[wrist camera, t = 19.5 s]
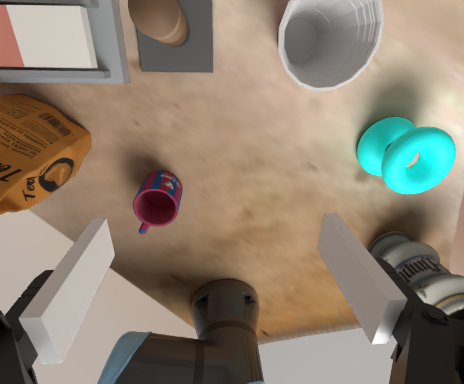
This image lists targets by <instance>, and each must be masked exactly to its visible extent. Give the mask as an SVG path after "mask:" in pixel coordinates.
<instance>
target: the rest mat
mask: <svg viewBox="0 0 464 384" xmlns="http://www.w3.org/2000/svg"><path fill="white" fill-rule="evenodd" d="M177 2H178V4H179V6H180V8H181V10H182V12H183V14H184V16H185V18H186V20H187V22H188V24H189V28H190V35H189V38H188V40H187V42H186V43H185V44H184V45H183V46H180V47H172V46H169V45H167V44H165V43H163V42H160V41H158V40H156V39H154V38H152V37H150V36H147V35H145V34H144V33H142V32H141V31H140V30H139V29H138V28H137V27H136V28H137V36H138V44H139V52H140V60H141V68H142V71H148V72H212V73H213V29H212V0H177Z"/></svg>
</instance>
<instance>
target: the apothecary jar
mask: <svg viewBox="0 0 464 384" xmlns="http://www.w3.org/2000/svg"><path fill="white" fill-rule="evenodd" d="M368 252H369V253H370V254H371V255H372V257H373V258H374V257H381V258H382V259H384V260H385V261H387V262H388V263H390V264H391V265H392V267H393V268H394V269H395V270H396V271H397V273H399V274H400V276H401V277H402V278H403V280H405V281H406V282H407V284H408V285H409V286H410V287H411V288H412V289H413V290H414V291H415V293H416V294H417V295H418V296H419V297H420V298H421V299H422V300H423V302H424V303H428V304H431V305H434V306H436V307H438V308H440V309H441V310H442V311H444V312H445V313H446V314H447V315H448V316H449V317H450V318H454V319H458V320H463V321H464V276H460V275H454V274H451V273H450V272H449V271H448V270H447V269H445V268H444V267H443V266H442V265H441V264H440V258H439V255H438V253H437V252H436V251H435V250H434V249H433V248H432V247H431V246H429V245H427V244H425V243H422V242H412V238H411V237H410V236H409V235H408V234H407V233H404V232H401V231H392V232H388V233H385V234H383V235H381V236H379V237H378V238H376V239H375V240H374V241H373V242H372V243H371V244H370V246H369V248H368Z"/></svg>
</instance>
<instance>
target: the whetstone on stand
mask: <svg viewBox="0 0 464 384" xmlns="http://www.w3.org/2000/svg"><path fill="white" fill-rule="evenodd" d="M0 5H46V6H81V7H84V8H86V9H87V14H88V20H89V25H90V30H91V35H92V40H93V46H94V51H95V56H96V61H97V66H98V68H58V67H7V66H0V83H75V84H126V83H130V78H129V71H128V64H127V57H126V50H125V44H124V37H123V30H122V23H121V16H120V9H119V2H118V0H0Z"/></svg>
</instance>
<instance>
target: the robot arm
mask: <svg viewBox="0 0 464 384" xmlns="http://www.w3.org/2000/svg"><path fill="white" fill-rule="evenodd" d="M317 249H318V251H319V252H320V254H321V256H322V258H323V260H324V261H325V263H326V265H327V267H328V268H329V270H330V272H331V274H332V275H333V277H334V279H335V281H336V282H337V284H338V286H339V288H340V290H341V291H342V293H343V295H344V297H345V298H346V300H347V302H348V304H349V305H350V307H351V309H352V311H353V312H354V314H355V316H356V318H357V320H358V321H359V323H360V325H361V327H362V328H363V330H364V332H365V334H366V335H367V337H368V339H369V341H370V342H371V344H384V343H388V342H389V340H390V338H391V336H392V335H393V336H394V338H395V339H396V341H397V342H398V343H397V345H396V347H395V349H394V351H393V354H392V356H391V359H393V364H392V370H391V376H390V381H389V384H464V321H463V320H458V319H454V318H450V317H449V316H448V315H447V314H446V313H445V312H444V311H442V310H441V309H440V308H438V307H436V306H434V305H431V304H428V303H424V302H423V300H422V299H421V298H420V297H419V296H418V295H417V294H416V293H415V291H414V290H413V289H412V288H411V287H410V286H409V285H408V284H407V282H406V281H405V280H403V278H402V277H401V276H400V274H399V273H397V271H396V270H395V269H394V268H393V267H392V265H391V264H390V263H388V262H387V261H385V260H384V259H382V258H381V257H374V258H373V257H372V255H371V254H370V253H369V252H368V250H367V249H366V248H365V247H364V246H363V244H362V243H361V242H360V241H359V240H358V238H357V237H356V236H355V235H354V234H353V232H352V231H351V230H350V229H349V227H348V226H347V225H346V224H345V223H344V221H343V220H342V219H341V218H340V217H339V215H338V214H337V213H324V218H323V222H322V227H321V232H320V237H319V242H318V247H317ZM114 256H115V253H114V249H113V244H112V240H111V236H110V232H109V227H108V223H107V219H106V218H95V219H92V220H91V222H90V223H89V224H88V226H87V227H86V228H85V230H84V231H83V232H82V234H81V235H80V236H79V238H78V239H77V240H76V242H75V243H74V244H73V246H72V247H71V249H70V250H69V251H68V253H67V254H66V255H65V257H64V258H63V259H62V261H61V262H60V263H59V265H58V266H57V267H56V269H55V270H45V271H44V272H43V273H41V274H40V275H39V276H38V277H36V278H35V279H34V280H33V281H32V282H31V284H30V285H29V286H28V287H27V289H26V290H25V291H24V292H23V294H22V295H21V297H19V298H18V300H17V301H16V302H15V303H14V305H13V306H12V307H11V308H10V310H9V311H8V312H7V313H6V315H5V316H4V314H3V313H2V312H1V311H0V384H38V383H37V379H36V376H35V372H34V370H33V368H32V365H33V363H34V361H35V359H36V358H37V356H38V358H39V360H40V362H41V364H42V365H45V364H61V363H62V362H63V360H64V358H65V356H66V354H67V352H68V350H69V348H70V346H71V344H72V341H73V340H74V338H75V336H76V333H77V332H78V329H79V328H80V326H81V323H82V321H83V319H84V317H85V315H86V313H87V311H88V309H89V307H90V305H91V303H92V301H93V299H94V297H95V295H96V293H97V291H98V289H99V287H100V285H101V283H102V281H103V278H104V277H105V275H106V273H107V270H108V269H109V267H110V264H111V262H112V260H113V258H114ZM191 316H192V320H193V323H194V326H195V330H196V333H197V336H198V339H193V338H185V337H177V336H169V335H162V334H156V333H152V332H133V331H132V332H127V333H125V334H123V335H122V336H121V337H120V338H119V340H118V341H117V343H116V344H115V346H114V348H113V350H112V352H111V354H110V356H109V358H108V360H107V362H106V364H105V367H104V369H103V371H102V374H101V376H100V378H99V381H98V383H97V384H265V383H264V378H263V373H262V367H261V361H260V355H259V350H258V344H257V338H256V328H257V322H258V316H259V302H258V297H257V294H256V293H255V291H254V290H253V289H252V288H251V287H250V286H248V285H247V284H245V283H243V282H240V281H236V280H219V281H214V282H211V283H209V284H207V285H205V286H203V287H202V288H201V289H199V290H198V291H197V292H196V294H195V295H194V297H193V300H192V306H191Z"/></svg>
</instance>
